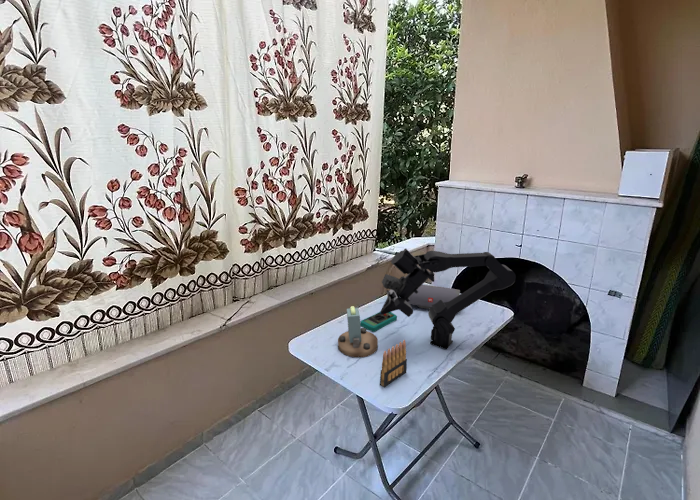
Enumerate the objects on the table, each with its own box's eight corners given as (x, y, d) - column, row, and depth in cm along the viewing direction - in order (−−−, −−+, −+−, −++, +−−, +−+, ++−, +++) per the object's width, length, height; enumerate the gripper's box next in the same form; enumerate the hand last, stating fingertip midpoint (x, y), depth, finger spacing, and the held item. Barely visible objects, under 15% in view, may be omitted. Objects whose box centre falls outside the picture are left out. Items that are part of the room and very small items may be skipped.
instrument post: (359, 332, 136) (357, 304, 132) (361, 341, 130) (359, 312, 126) (348, 333, 135) (346, 305, 132) (349, 342, 130) (347, 313, 126)
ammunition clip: (402, 370, 121) (403, 337, 117) (406, 373, 119) (408, 339, 116) (379, 385, 114) (380, 350, 110) (384, 388, 112) (385, 353, 109)
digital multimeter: (398, 320, 153) (398, 314, 152) (373, 333, 143) (373, 326, 142) (384, 314, 158) (384, 308, 157) (359, 326, 148) (359, 320, 147)
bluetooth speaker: (402, 308, 162) (403, 287, 159) (405, 299, 170) (407, 279, 167) (457, 316, 155) (459, 294, 152) (458, 306, 164) (460, 285, 161)
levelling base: (374, 335, 141) (375, 322, 139) (380, 356, 128) (380, 342, 126) (337, 336, 140) (337, 323, 138) (339, 358, 127) (339, 344, 125)
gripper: (390, 257, 134) (360, 287, 137) (403, 280, 117) (369, 315, 120) (411, 275, 138) (381, 304, 141) (427, 300, 120) (393, 333, 124)
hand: (381, 313), depth 131 cm, fingers closed
